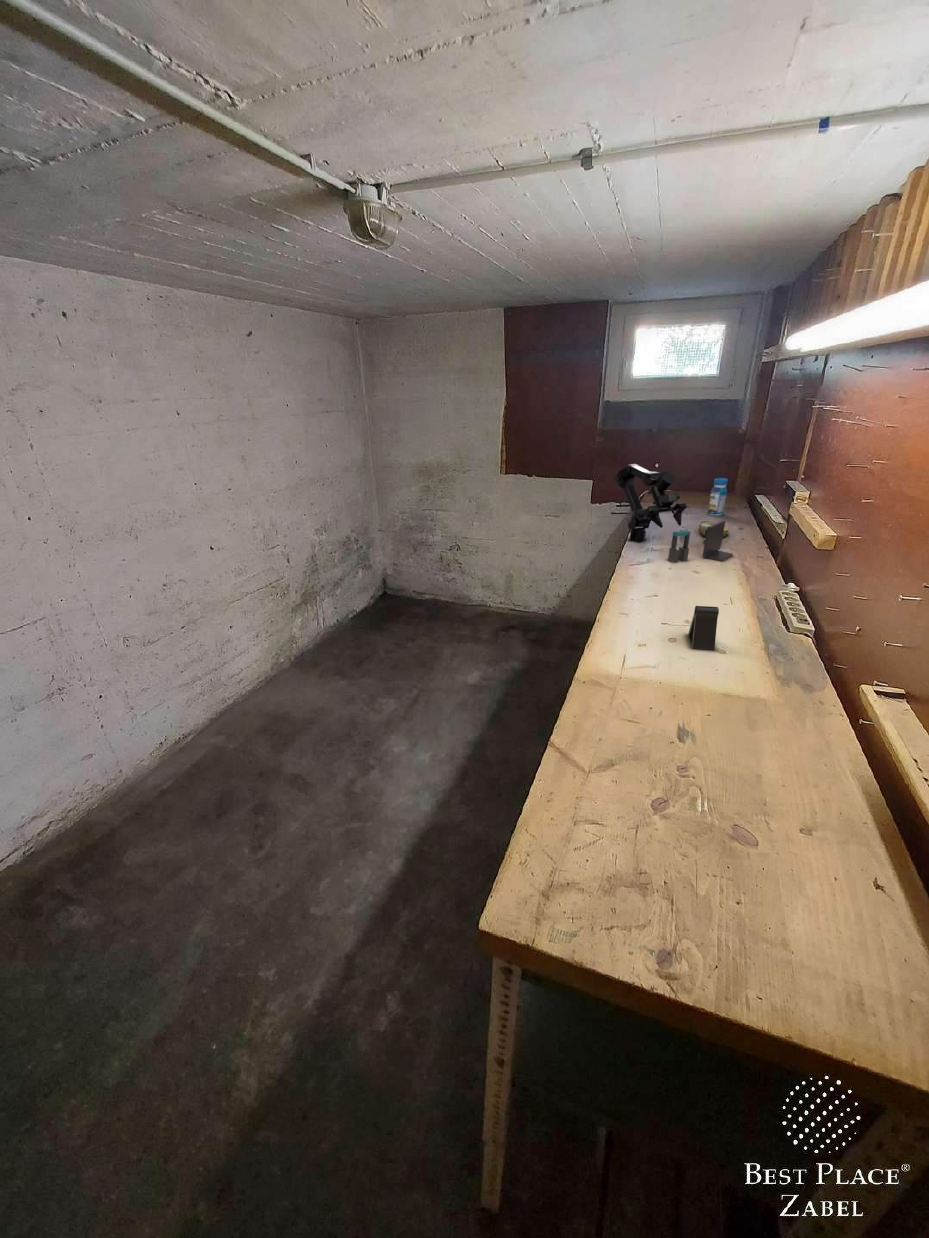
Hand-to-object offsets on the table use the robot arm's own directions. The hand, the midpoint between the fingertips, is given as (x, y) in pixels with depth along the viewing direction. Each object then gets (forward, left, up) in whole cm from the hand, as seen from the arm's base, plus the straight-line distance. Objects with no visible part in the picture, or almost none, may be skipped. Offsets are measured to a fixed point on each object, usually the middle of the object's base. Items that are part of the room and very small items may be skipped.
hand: (671, 526), depth 215 cm
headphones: (+6, -4, -13) cm, 16 cm away
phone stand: (+40, -74, -14) cm, 86 cm away
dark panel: (+16, +10, -13) cm, 23 cm away
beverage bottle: (-6, +86, -14) cm, 87 cm away
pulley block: (+7, +39, -14) cm, 41 cm away
